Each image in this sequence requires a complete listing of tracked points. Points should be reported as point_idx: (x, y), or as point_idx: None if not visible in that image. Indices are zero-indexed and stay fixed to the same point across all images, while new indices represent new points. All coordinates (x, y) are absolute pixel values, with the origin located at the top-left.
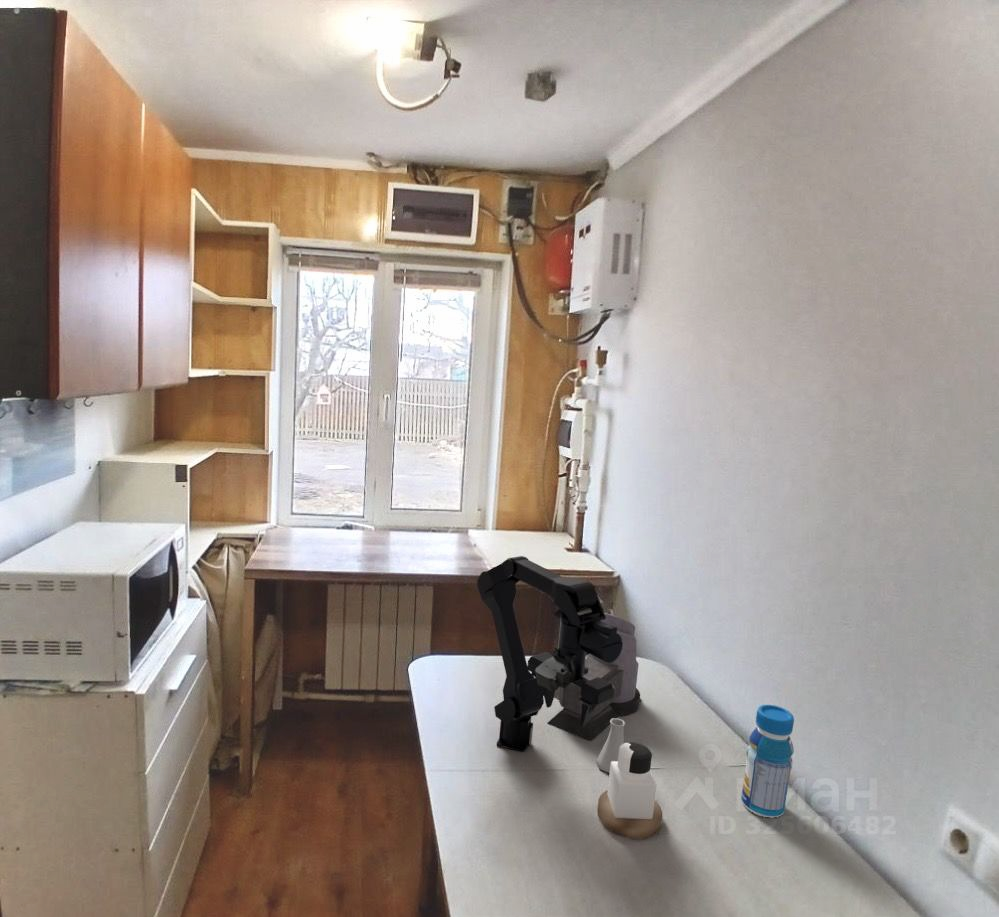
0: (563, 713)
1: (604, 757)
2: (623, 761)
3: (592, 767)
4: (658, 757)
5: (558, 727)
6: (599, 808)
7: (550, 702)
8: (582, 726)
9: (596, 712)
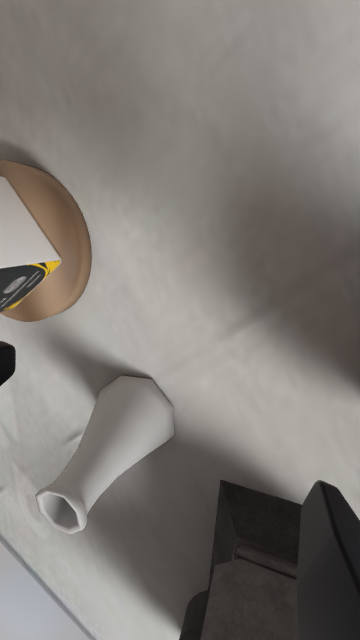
0: None
1: (132, 403)
2: None
3: (170, 380)
4: None
5: None
6: (49, 188)
7: (310, 535)
8: (2, 343)
9: (212, 580)
